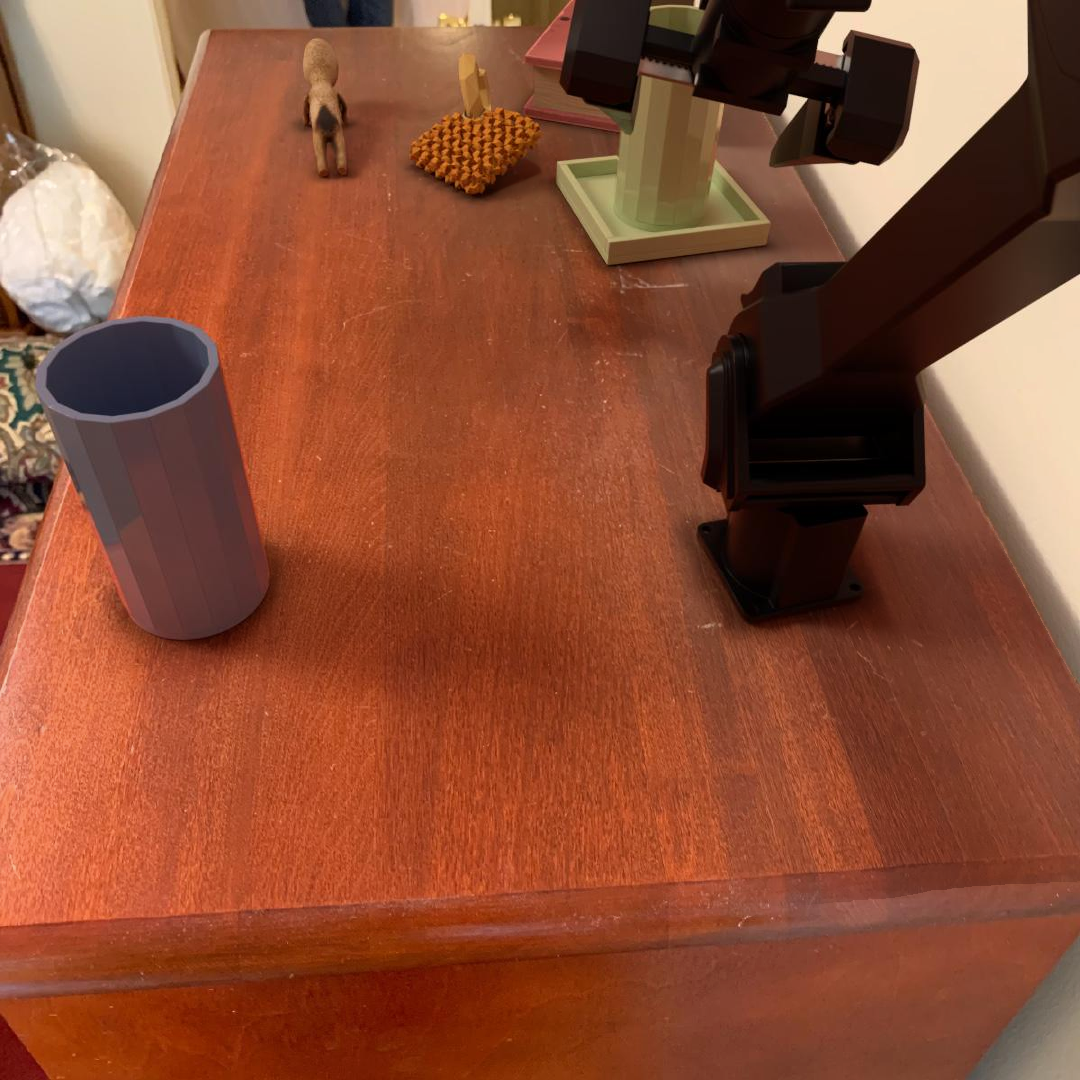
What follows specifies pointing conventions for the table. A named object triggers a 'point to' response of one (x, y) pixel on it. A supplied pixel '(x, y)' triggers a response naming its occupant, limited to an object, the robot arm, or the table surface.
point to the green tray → (721, 229)
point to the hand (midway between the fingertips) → (701, 143)
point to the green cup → (668, 146)
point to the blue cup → (159, 471)
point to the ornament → (475, 136)
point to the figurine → (324, 104)
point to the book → (548, 91)
